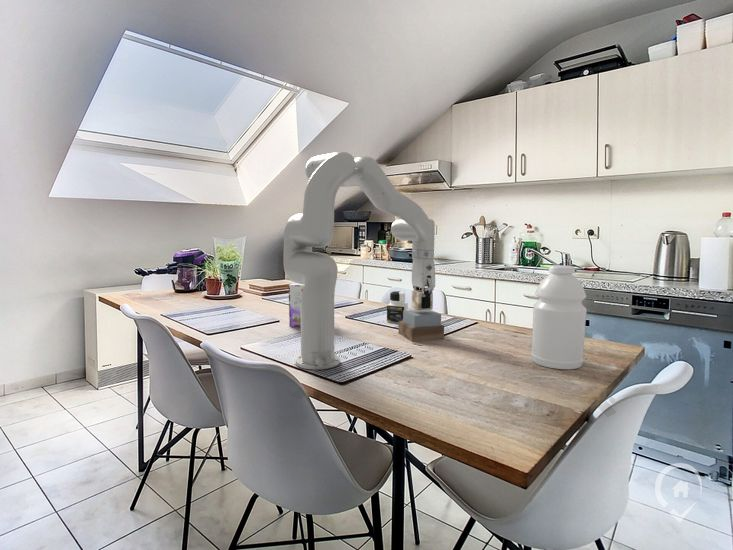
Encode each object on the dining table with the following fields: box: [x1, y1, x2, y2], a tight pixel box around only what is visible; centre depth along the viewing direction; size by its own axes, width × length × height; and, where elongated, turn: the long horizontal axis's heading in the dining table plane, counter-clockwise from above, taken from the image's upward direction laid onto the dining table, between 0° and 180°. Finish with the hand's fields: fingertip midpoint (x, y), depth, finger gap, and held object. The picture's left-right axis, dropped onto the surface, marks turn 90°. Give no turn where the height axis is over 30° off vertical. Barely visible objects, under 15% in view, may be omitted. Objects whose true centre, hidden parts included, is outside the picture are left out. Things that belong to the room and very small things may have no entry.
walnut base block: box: [398, 321, 445, 343], centre depth 157 cm, size 12×12×5 cm
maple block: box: [411, 290, 434, 311], centre depth 155 cm, size 6×6×6 cm
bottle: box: [530, 264, 588, 370], centre depth 127 cm, size 14×14×28 cm
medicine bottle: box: [386, 291, 409, 324], centre depth 180 cm, size 7×7×12 cm
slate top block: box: [403, 309, 442, 328], centre depth 156 cm, size 10×10×4 cm
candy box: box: [288, 282, 304, 328], centre depth 171 cm, size 14×6×16 cm, turn 84°
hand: (421, 305), depth 155 cm, fingers closed on maple block, 5 cm apart
